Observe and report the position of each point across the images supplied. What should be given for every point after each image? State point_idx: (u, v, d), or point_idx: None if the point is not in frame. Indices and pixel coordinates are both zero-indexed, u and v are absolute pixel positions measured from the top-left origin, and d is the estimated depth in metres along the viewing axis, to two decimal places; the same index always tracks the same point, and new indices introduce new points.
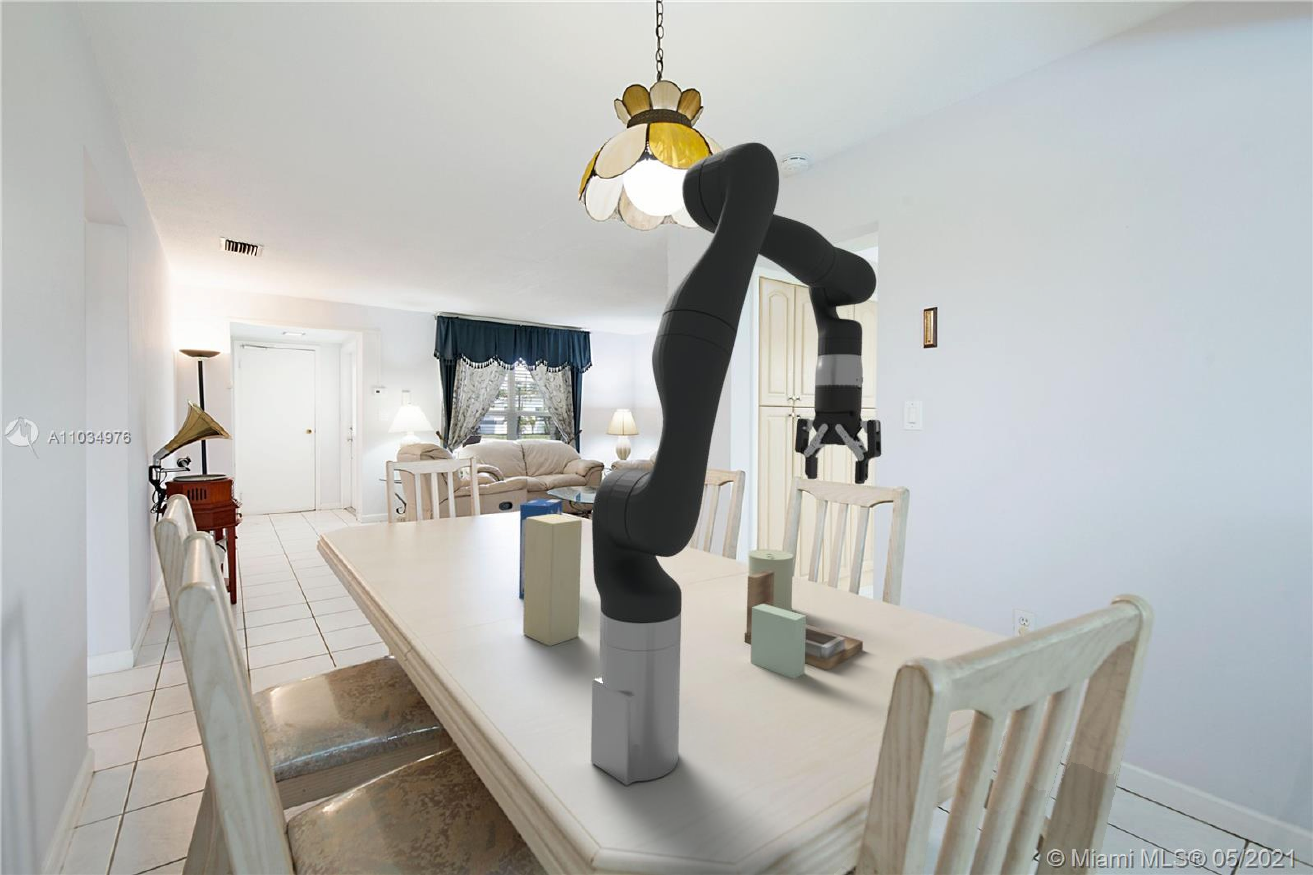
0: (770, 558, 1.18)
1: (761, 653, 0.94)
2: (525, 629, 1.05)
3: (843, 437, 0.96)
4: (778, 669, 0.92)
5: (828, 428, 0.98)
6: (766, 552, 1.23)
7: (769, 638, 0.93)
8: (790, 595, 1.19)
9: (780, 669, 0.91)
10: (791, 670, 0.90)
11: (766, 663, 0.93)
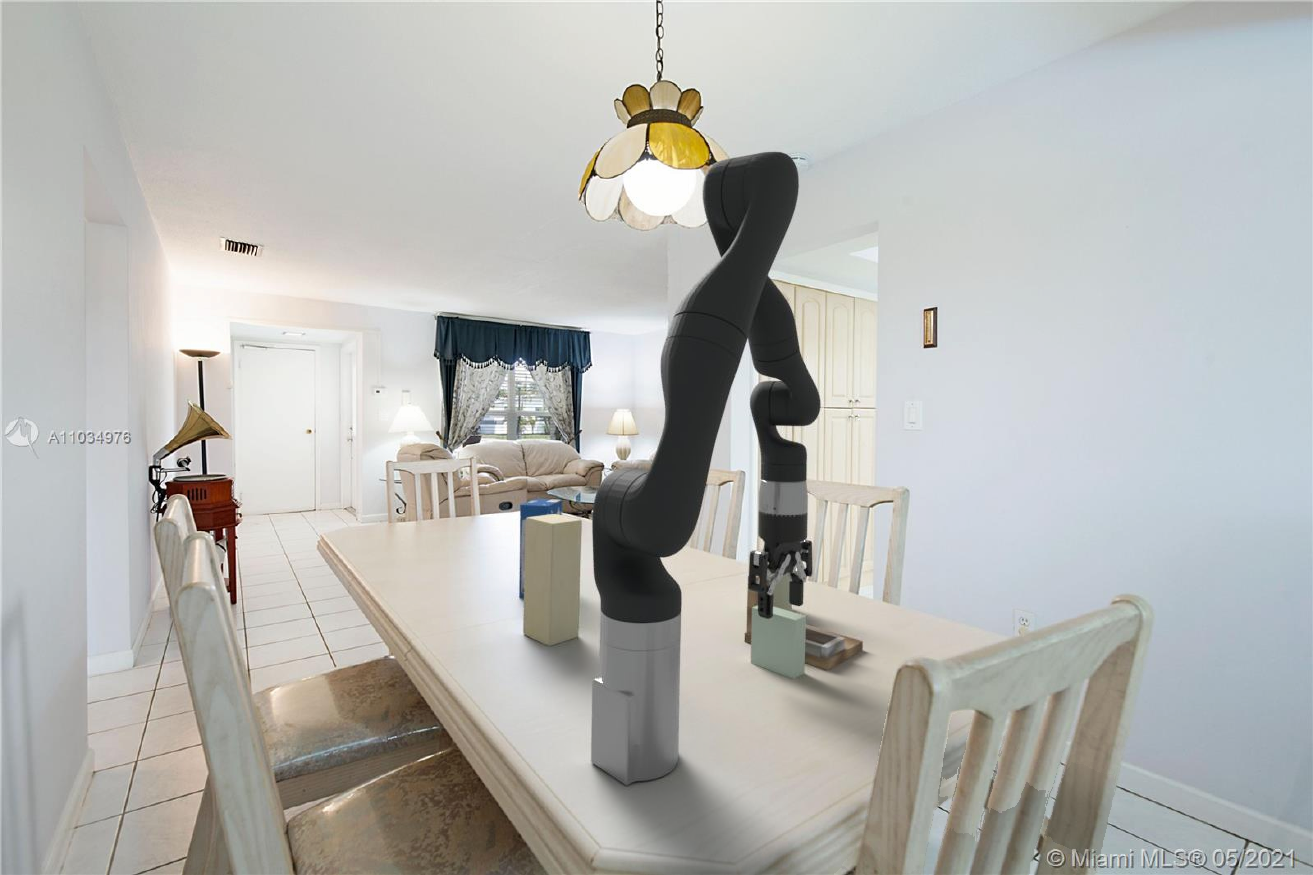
0: None
1: (761, 653, 0.94)
2: (525, 629, 1.05)
3: (798, 564, 0.93)
4: (778, 669, 0.92)
5: None
6: None
7: (769, 638, 0.93)
8: None
9: (780, 669, 0.91)
10: (791, 670, 0.90)
11: (766, 663, 0.93)
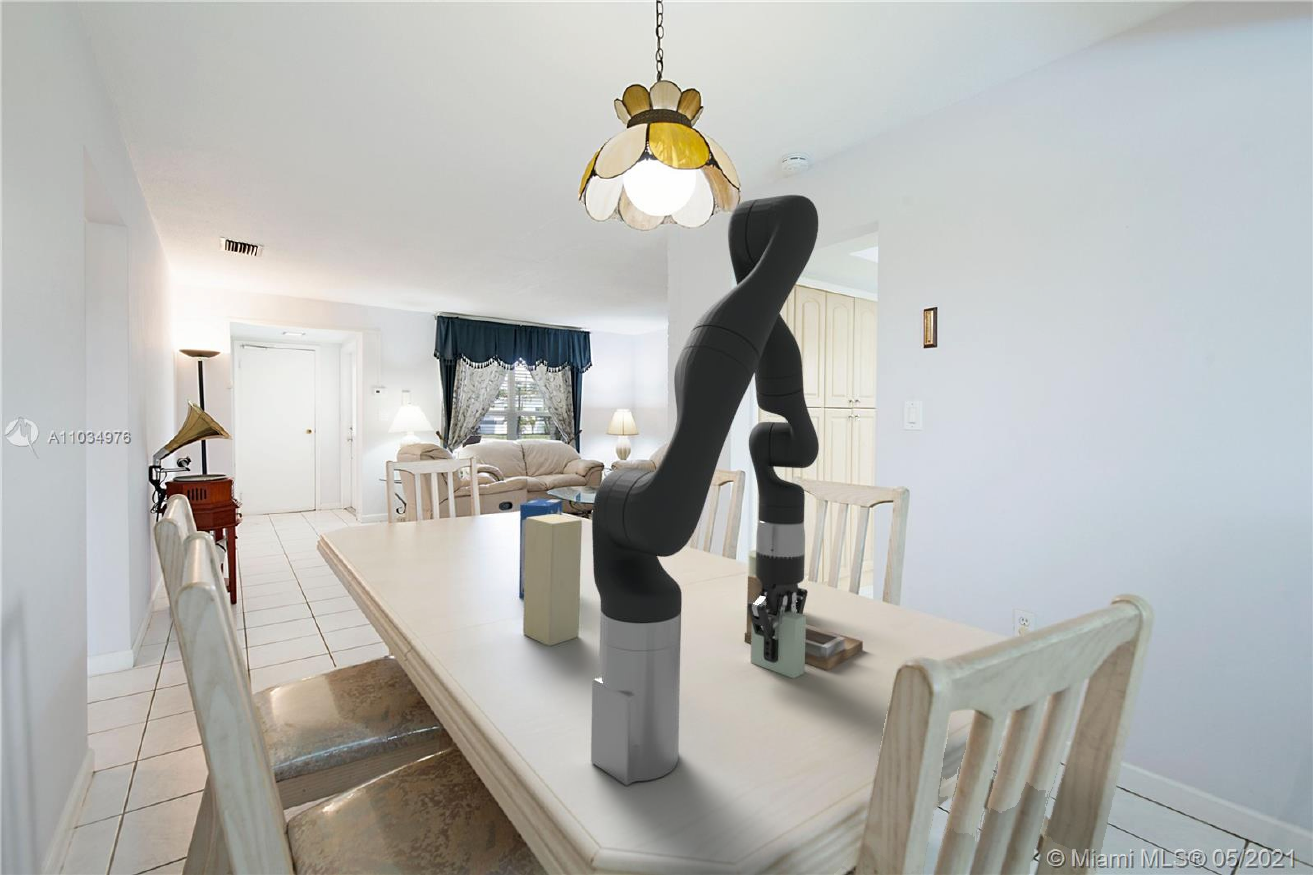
0: None
1: (761, 653, 0.94)
2: (525, 629, 1.05)
3: (792, 606, 0.93)
4: (778, 669, 0.92)
5: None
6: None
7: None
8: None
9: (780, 669, 0.91)
10: (791, 670, 0.90)
11: (766, 663, 0.93)
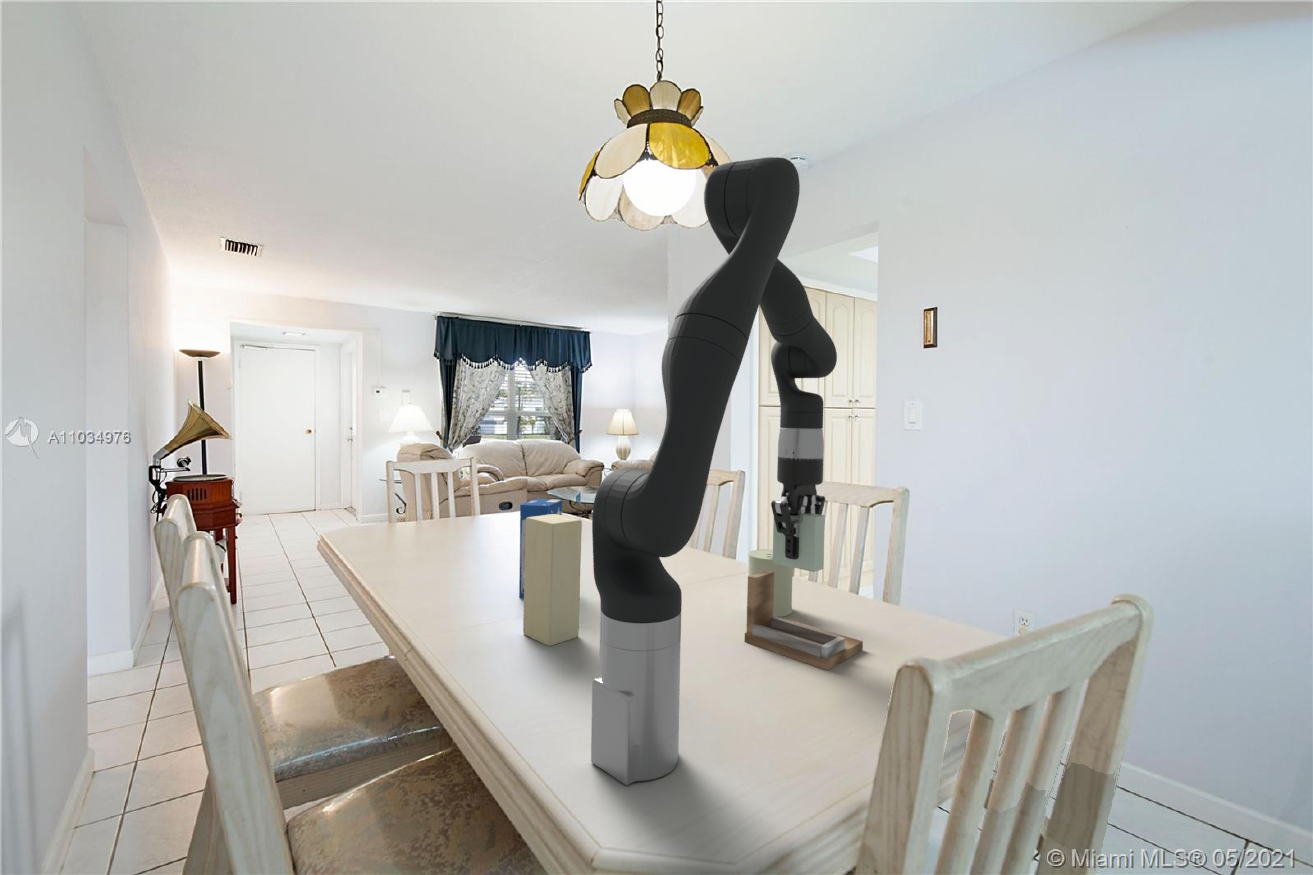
0: (770, 558, 1.18)
1: (782, 552, 1.01)
2: (525, 629, 1.05)
3: (811, 508, 1.00)
4: (799, 565, 0.98)
5: None
6: (766, 552, 1.23)
7: None
8: (790, 595, 1.19)
9: (800, 565, 0.98)
10: (812, 564, 0.97)
11: (787, 561, 1.00)
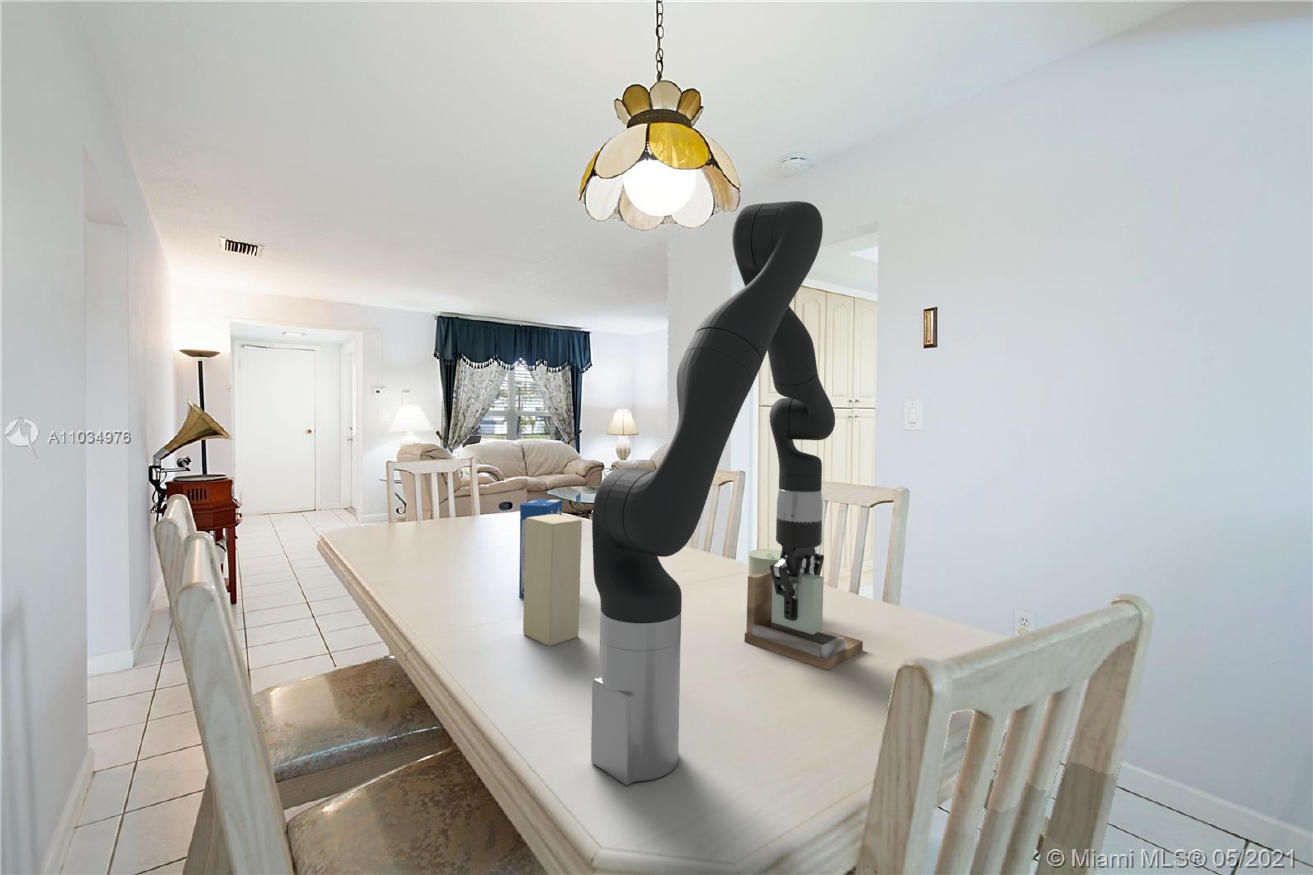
0: (770, 558, 1.17)
1: (781, 612, 1.01)
2: (525, 629, 1.05)
3: (810, 569, 1.00)
4: (798, 626, 0.99)
5: None
6: (766, 552, 1.23)
7: None
8: None
9: (799, 626, 0.99)
10: (810, 626, 0.97)
11: (786, 621, 1.00)
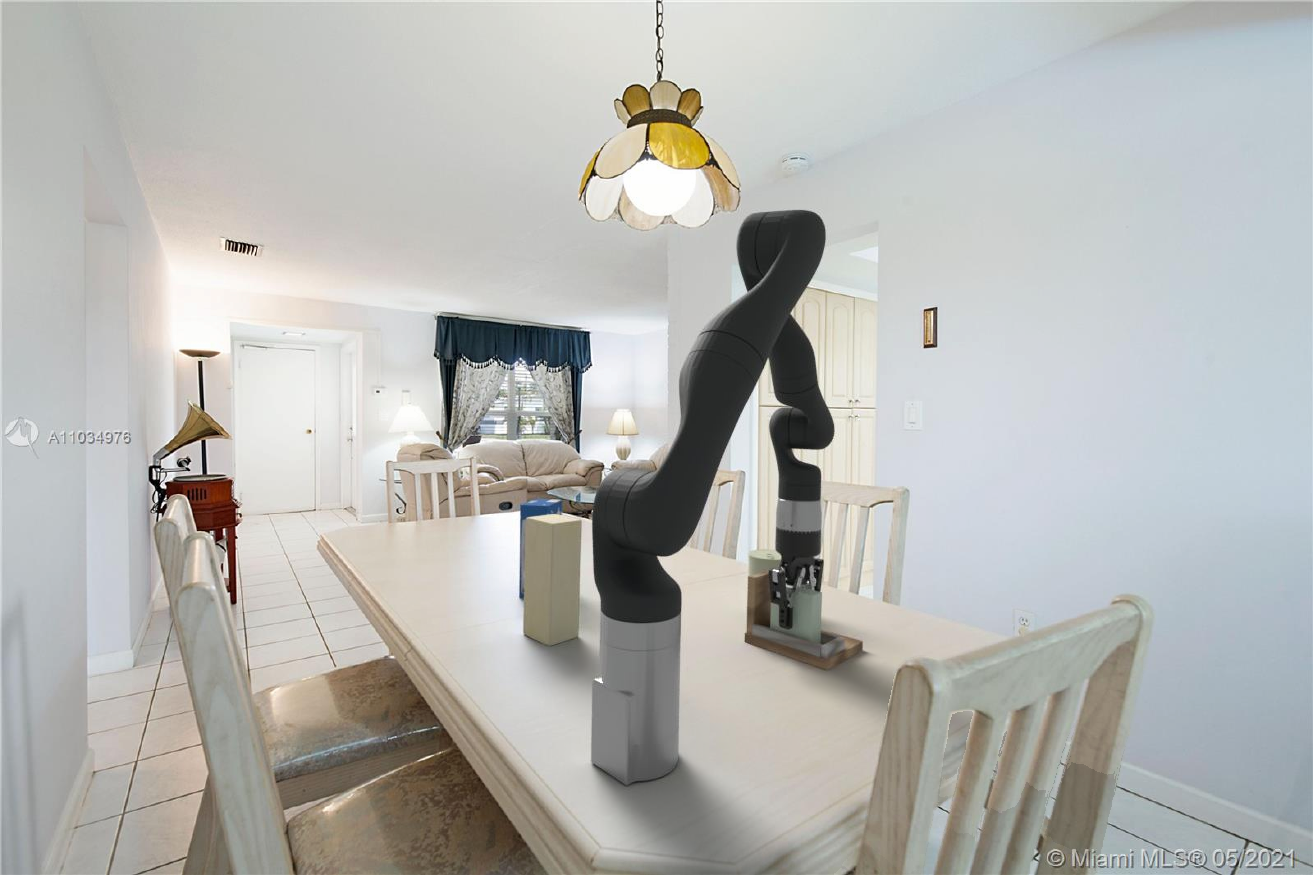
0: (770, 558, 1.18)
1: (780, 627, 1.01)
2: (524, 629, 1.05)
3: (810, 577, 1.00)
4: None
5: None
6: (766, 552, 1.23)
7: None
8: None
9: None
10: None
11: None
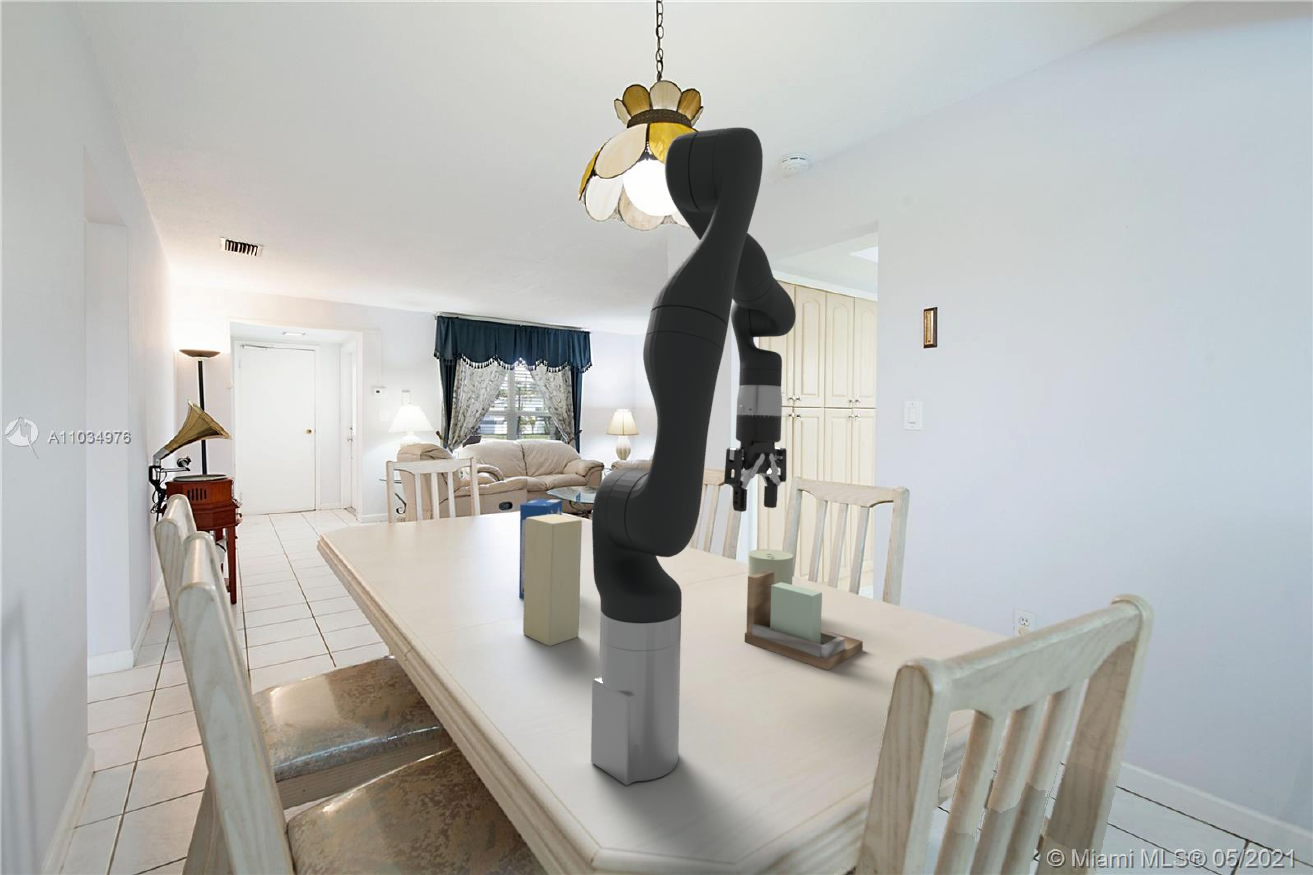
0: (770, 558, 1.18)
1: (780, 627, 1.01)
2: (525, 629, 1.05)
3: (772, 465, 1.00)
4: None
5: None
6: (766, 552, 1.23)
7: (787, 613, 1.00)
8: None
9: None
10: None
11: None
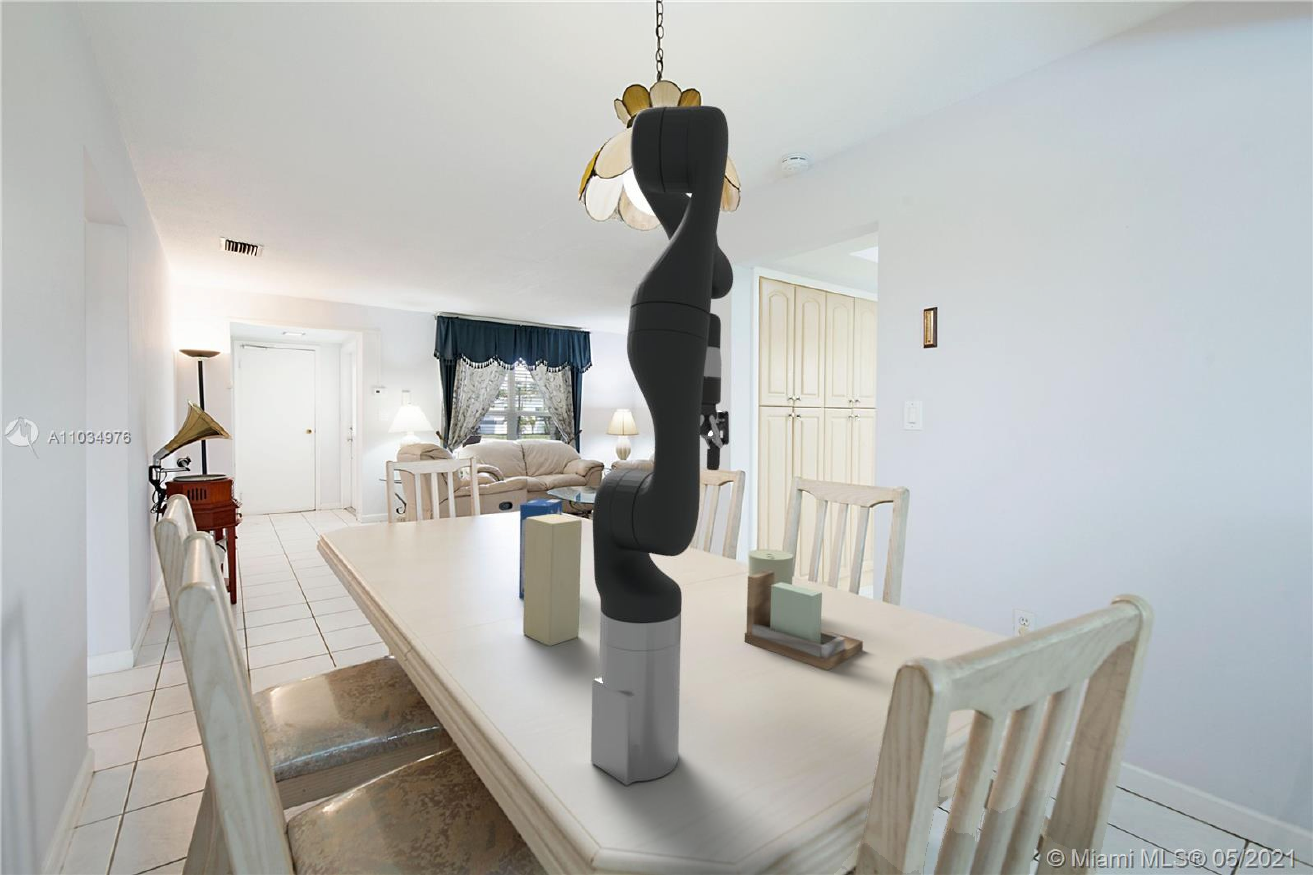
0: (770, 558, 1.18)
1: (780, 627, 1.01)
2: (524, 629, 1.05)
3: (713, 427, 1.01)
4: None
5: None
6: (766, 552, 1.23)
7: (787, 613, 1.00)
8: None
9: None
10: None
11: None
